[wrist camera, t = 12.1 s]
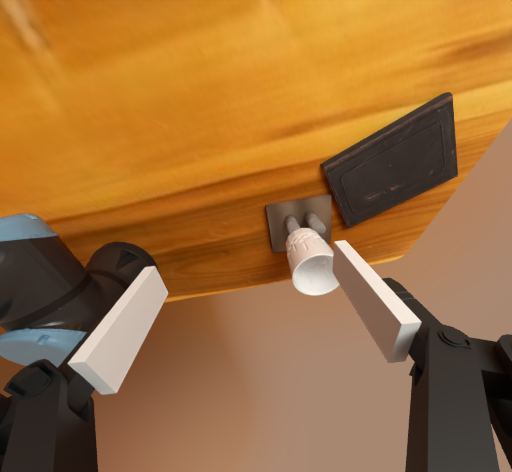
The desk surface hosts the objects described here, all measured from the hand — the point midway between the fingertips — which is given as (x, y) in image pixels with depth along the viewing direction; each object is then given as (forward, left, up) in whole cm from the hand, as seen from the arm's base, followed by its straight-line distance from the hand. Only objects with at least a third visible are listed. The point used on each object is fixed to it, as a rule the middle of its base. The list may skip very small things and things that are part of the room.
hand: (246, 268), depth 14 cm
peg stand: (+10, -11, -29) cm, 33 cm away
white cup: (+8, -11, -21) cm, 25 cm away
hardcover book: (+28, -2, -30) cm, 41 cm away
